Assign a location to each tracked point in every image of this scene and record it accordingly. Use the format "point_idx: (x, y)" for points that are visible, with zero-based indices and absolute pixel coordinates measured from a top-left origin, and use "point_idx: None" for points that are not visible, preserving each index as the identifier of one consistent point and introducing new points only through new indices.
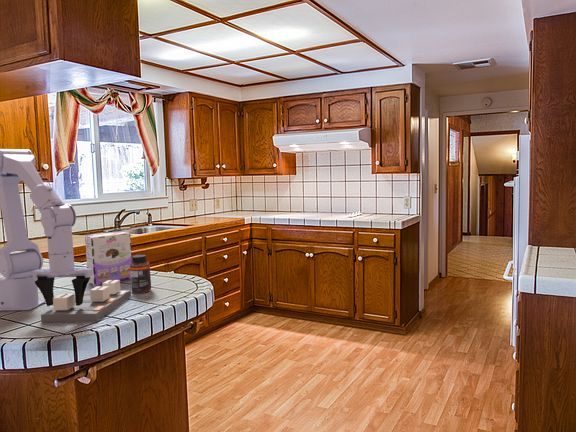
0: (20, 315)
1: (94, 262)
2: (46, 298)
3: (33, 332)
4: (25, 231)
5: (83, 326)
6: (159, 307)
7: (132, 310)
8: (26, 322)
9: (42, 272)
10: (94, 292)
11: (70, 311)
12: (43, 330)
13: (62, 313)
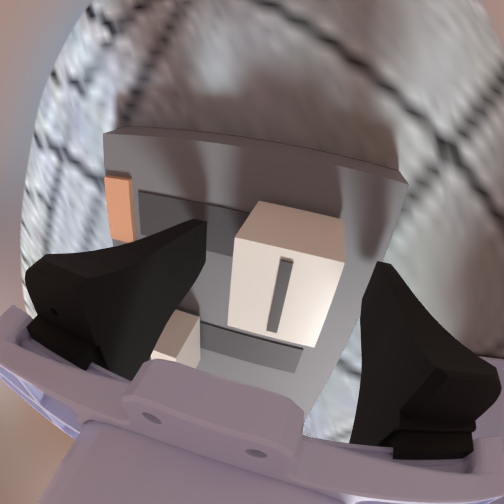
0: (490, 308)
1: None
2: (396, 286)
3: (374, 7)
4: None
5: (153, 62)
6: (36, 250)
7: (77, 243)
8: (467, 197)
9: (435, 491)
10: (160, 341)
11: (245, 197)
12: (334, 23)
13: (278, 165)
